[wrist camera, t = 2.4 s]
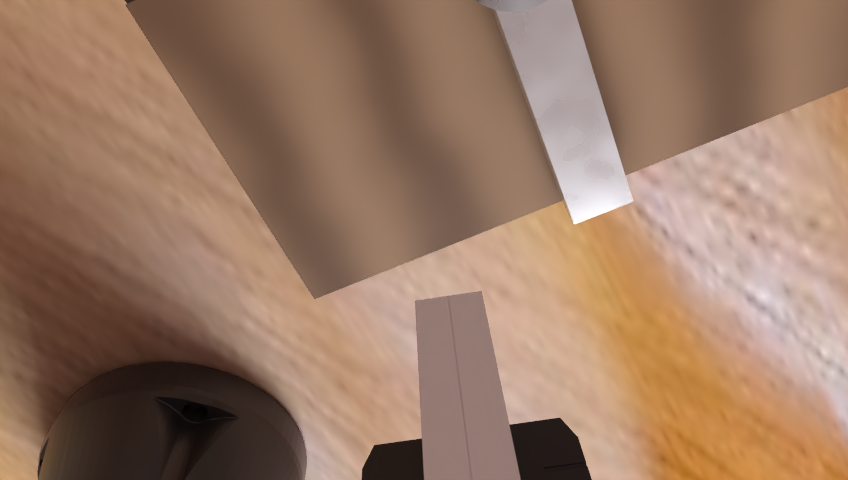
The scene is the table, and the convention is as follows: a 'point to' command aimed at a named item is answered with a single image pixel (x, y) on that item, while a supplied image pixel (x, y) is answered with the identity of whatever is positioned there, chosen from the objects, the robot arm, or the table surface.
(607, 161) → the latch bar
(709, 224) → the table surface
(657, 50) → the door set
